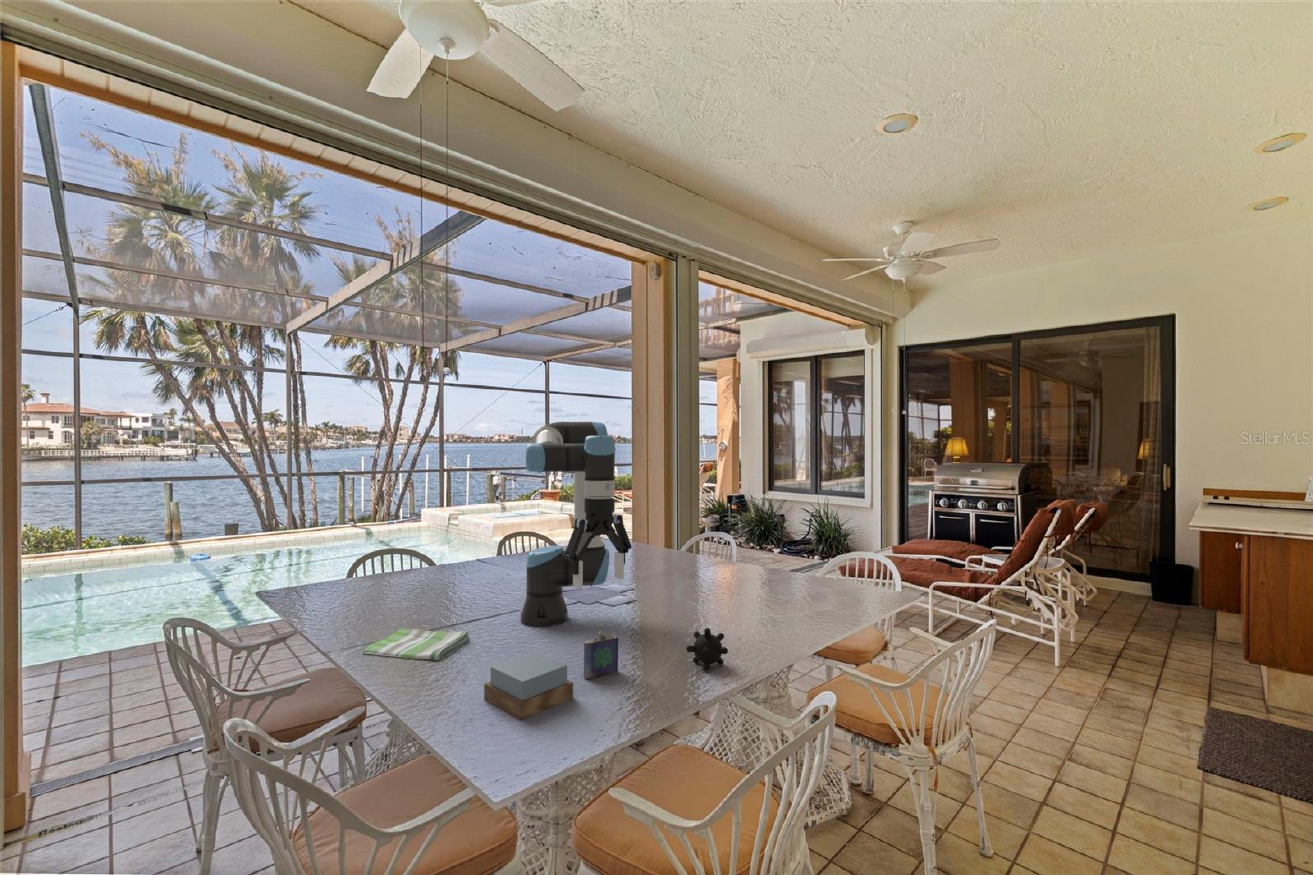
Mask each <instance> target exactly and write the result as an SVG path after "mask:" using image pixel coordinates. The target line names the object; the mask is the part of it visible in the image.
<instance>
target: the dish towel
mask: <svg viewBox="0 0 1313 875" xmlns="http://www.w3.org/2000/svg"><path fill="white" fill-rule="evenodd" d="M470 637H471V636H470V635H469V630H461V631H439V630H438V631H432V630H431V631H430V630H426V629H415V628H399V629H397V630H396V631H395V632H394V633H392V634H391V635H389V636H388V637H386V638H384V639H383V640H379V641H376V642H374V643H371V644H369V645H368V646H367V647H366V648H365V649H364V650H363V651H364V652H373V653H379V654H383V655H396V656H401V657H407V658H413V659H412V660H414V659H430V660H429V661H433V660H437V661H441V660H443V659H444V658H446V657H447V656H449V655H450V654H451V653H453V652H454V651H455V650H457V649H458V648H461V647H462V646H464V645H465V644H466V643H467V642H469V641H470ZM445 656H446V657H445ZM440 659H441V660H440Z"/></svg>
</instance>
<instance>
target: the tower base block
mask: <svg viewBox="0 0 1313 875" xmlns="http://www.w3.org/2000/svg"><path fill="white" fill-rule="evenodd" d="M483 686H484V687H483V688H484V690H483V693H484V694H483V700H484V701H486V702H487V703H489V704H491V705H492V706H494V707H496V708H498V709H500V710H502V711H503V712H505V713H507V714H509V715H510V716H512V717H514V718H516V720H519V721H522V720H524V719H528V718H529V717H532V716H534V715H537V714H539V713H542V712H543V711H546V710H548V709H551V708H553V707H555V706H558V705H560V704H562V703H565V702H566V701H569V700H573V699H574V682H573V681H570V680H569V679H567V683H566V684H563V685H561V686H558V687H556V688H553V689H551V690H548V691H546V692H543V693H541V694H538V695H536V696H534V697H531V698H529V699H526V700H524V701H522V700H520V699H518V698H516V697H514V696H512V695H510V694H508V693H506V692H504V691H502V690H500V689H498V688H496V687H494V686H492V685H491V681H488V682H485V683H484V685H483Z"/></svg>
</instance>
